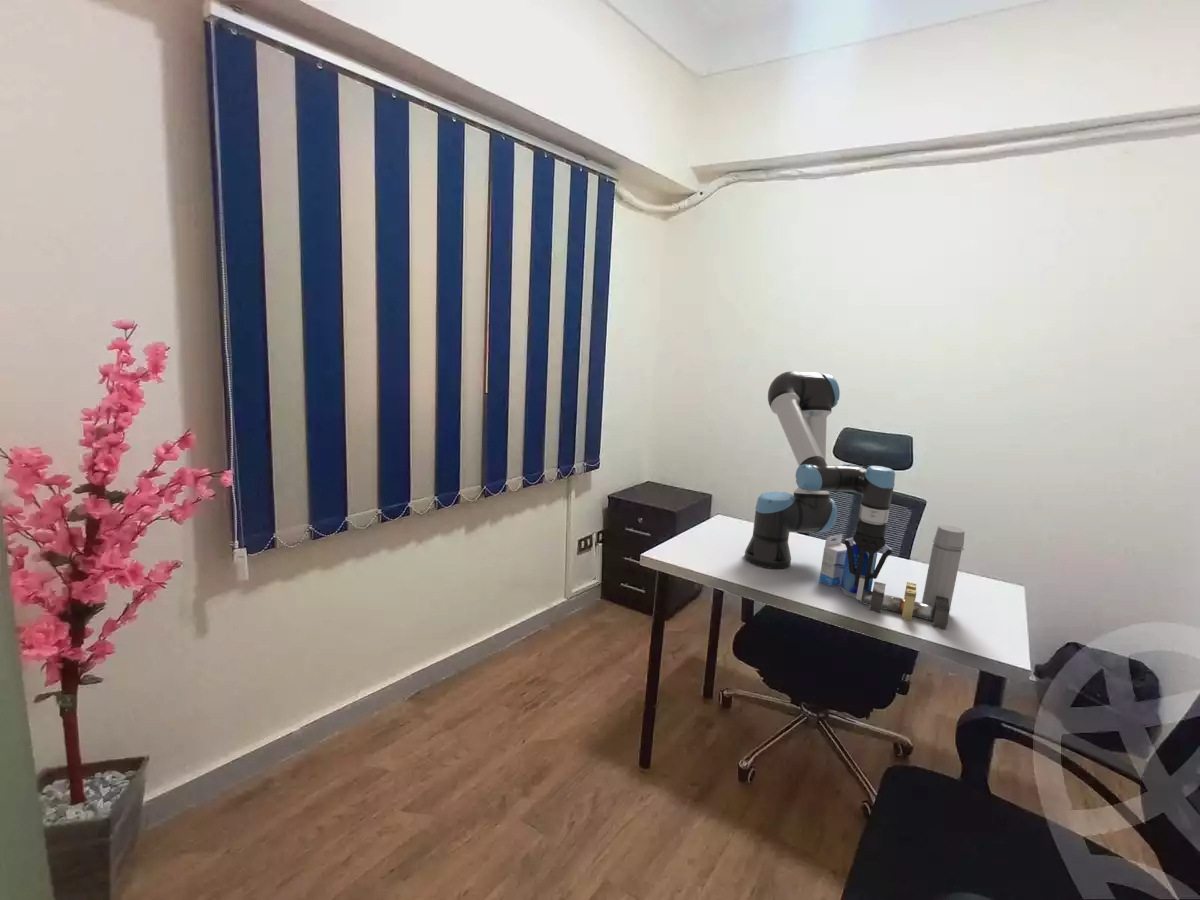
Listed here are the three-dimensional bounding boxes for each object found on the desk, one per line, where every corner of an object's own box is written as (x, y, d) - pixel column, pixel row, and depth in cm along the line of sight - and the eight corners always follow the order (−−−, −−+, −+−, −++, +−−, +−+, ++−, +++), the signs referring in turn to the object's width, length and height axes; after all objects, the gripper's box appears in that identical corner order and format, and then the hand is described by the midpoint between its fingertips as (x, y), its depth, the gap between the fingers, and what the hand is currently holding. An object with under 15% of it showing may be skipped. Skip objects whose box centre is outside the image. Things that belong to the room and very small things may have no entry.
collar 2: (932, 626, 162) (936, 606, 161) (932, 615, 169) (936, 595, 168) (945, 629, 161) (949, 609, 160) (944, 618, 168) (948, 598, 167)
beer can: (834, 588, 183) (842, 539, 180) (854, 585, 187) (862, 537, 184) (855, 600, 176) (864, 549, 173) (876, 597, 179) (885, 546, 176)
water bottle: (938, 618, 167) (954, 534, 163) (914, 606, 174) (929, 525, 170) (960, 614, 171) (977, 531, 166) (935, 603, 178) (951, 523, 173)
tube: (860, 603, 172) (862, 589, 173) (861, 602, 176) (863, 588, 176) (947, 625, 163) (949, 610, 163) (946, 623, 166) (948, 608, 166)
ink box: (832, 587, 184) (839, 542, 181) (818, 581, 188) (825, 536, 186) (848, 582, 189) (855, 538, 186) (835, 576, 193) (841, 533, 190)
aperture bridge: (901, 618, 166) (906, 591, 164) (902, 607, 173) (907, 582, 171) (911, 621, 165) (916, 594, 163) (911, 610, 172) (916, 584, 170)
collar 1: (869, 610, 169) (872, 590, 168) (871, 600, 177) (874, 581, 175) (880, 613, 168) (884, 593, 167) (882, 603, 175) (885, 583, 174)
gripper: (846, 519, 169) (833, 596, 174) (897, 529, 163) (882, 608, 168) (849, 513, 176) (837, 587, 180) (898, 522, 170) (883, 599, 174)
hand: (859, 597), depth 174 cm, fingers closed
